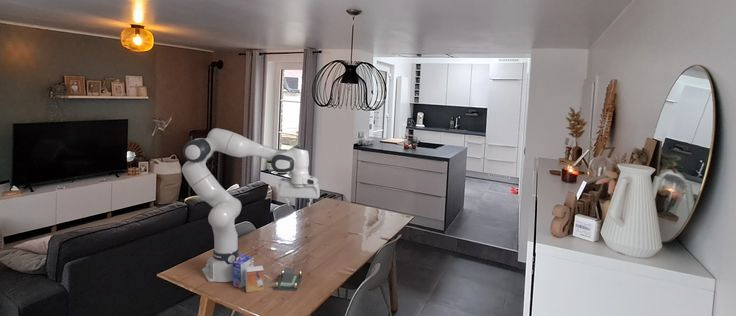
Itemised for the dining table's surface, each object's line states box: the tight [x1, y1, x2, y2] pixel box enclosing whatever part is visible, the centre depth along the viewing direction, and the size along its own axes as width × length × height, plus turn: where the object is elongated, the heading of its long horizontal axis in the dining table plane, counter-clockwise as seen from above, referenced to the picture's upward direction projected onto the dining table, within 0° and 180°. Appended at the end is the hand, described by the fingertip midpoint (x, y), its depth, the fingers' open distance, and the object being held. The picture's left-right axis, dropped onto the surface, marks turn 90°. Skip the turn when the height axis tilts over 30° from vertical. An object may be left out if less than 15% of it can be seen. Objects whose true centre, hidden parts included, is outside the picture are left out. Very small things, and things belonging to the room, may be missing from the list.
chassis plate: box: [273, 269, 303, 292], centre depth 205 cm, size 11×15×4 cm
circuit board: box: [280, 267, 297, 287], centre depth 204 cm, size 6×10×6 cm, turn 179°
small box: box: [244, 265, 265, 294], centre depth 197 cm, size 8×6×10 cm
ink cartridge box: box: [232, 253, 255, 289], centre depth 202 cm, size 10×6×14 cm, turn 158°
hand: (299, 206), depth 207 cm, fingers open, 8 cm apart
